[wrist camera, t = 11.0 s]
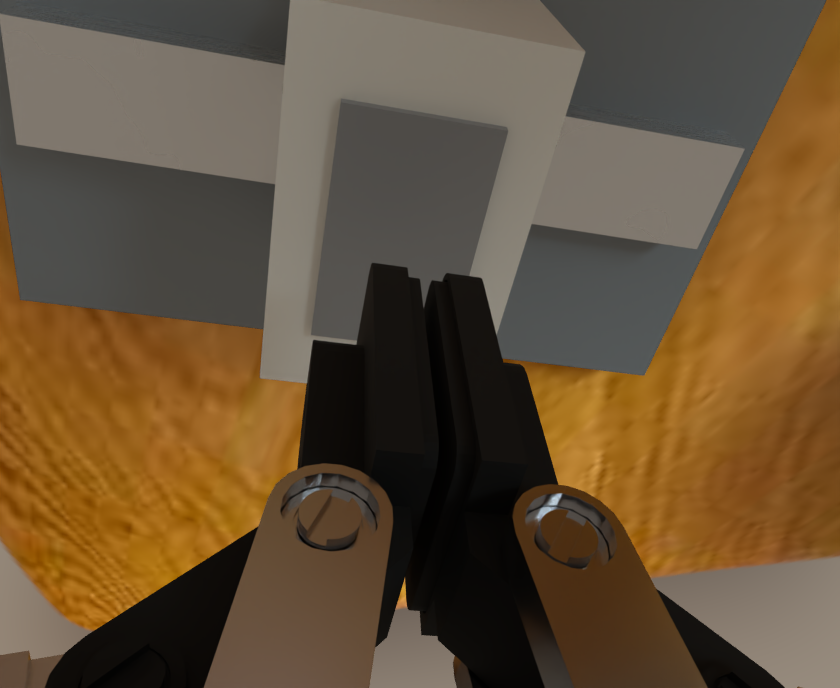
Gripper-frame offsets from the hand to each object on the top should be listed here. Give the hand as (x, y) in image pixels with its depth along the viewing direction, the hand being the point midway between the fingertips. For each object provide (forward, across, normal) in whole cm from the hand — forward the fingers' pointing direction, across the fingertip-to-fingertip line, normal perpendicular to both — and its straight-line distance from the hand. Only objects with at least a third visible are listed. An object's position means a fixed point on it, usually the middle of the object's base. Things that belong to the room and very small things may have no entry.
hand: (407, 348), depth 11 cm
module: (+10, 0, 0) cm, 10 cm away
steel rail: (+10, 0, 0) cm, 10 cm away
